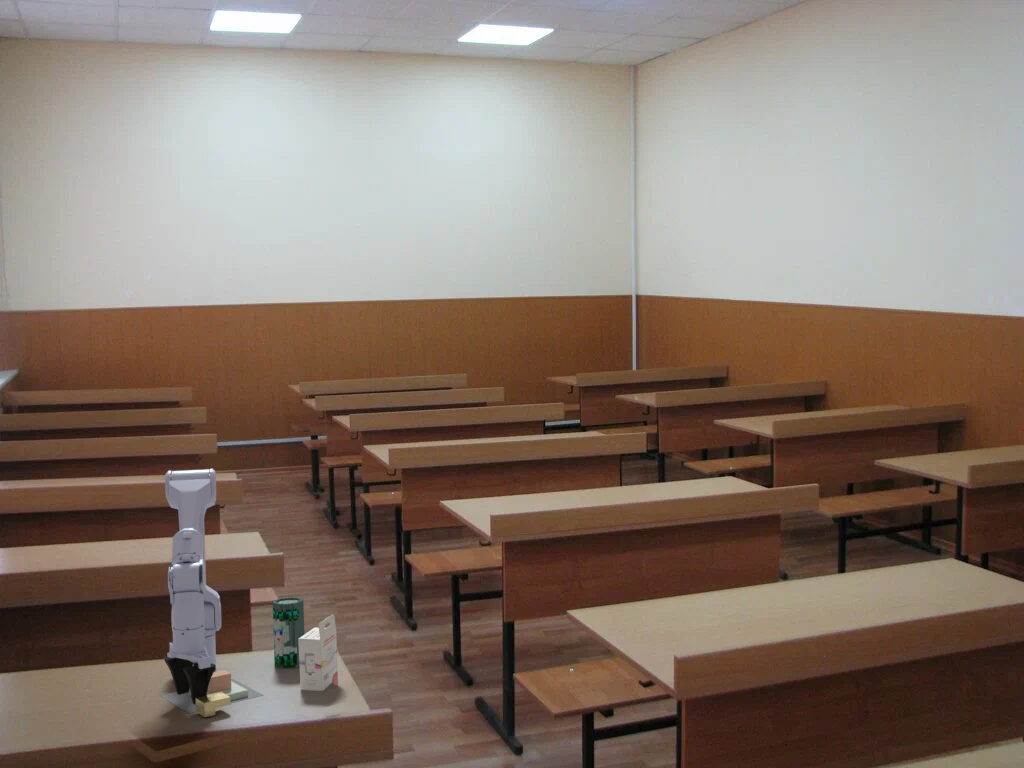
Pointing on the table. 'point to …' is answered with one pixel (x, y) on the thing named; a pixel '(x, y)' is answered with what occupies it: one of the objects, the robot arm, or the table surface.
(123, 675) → the table surface
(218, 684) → the pink rectangular block
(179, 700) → the flat gray mat
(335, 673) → the ink cartridge box
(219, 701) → the yellow stepped block
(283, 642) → the can
